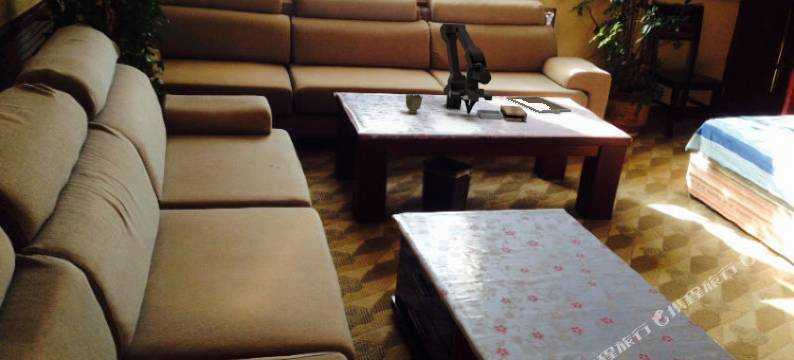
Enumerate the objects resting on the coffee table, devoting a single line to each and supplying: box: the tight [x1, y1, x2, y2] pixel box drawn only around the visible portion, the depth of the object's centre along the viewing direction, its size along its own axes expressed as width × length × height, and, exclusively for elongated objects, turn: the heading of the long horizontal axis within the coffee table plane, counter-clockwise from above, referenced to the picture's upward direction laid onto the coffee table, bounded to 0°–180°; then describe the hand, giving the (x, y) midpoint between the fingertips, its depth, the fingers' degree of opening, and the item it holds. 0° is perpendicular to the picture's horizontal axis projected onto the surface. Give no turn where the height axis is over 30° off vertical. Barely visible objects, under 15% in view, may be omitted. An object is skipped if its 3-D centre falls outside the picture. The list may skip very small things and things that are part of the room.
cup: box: [405, 93, 424, 115], centre depth 285 cm, size 8×7×8 cm
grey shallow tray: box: [476, 108, 504, 120], centre depth 290 cm, size 10×8×2 cm
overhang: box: [499, 105, 528, 123], centre depth 291 cm, size 9×13×4 cm
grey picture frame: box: [505, 95, 572, 115], centre depth 316 cm, size 19×2×30 cm
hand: (468, 113), depth 289 cm, fingers closed
